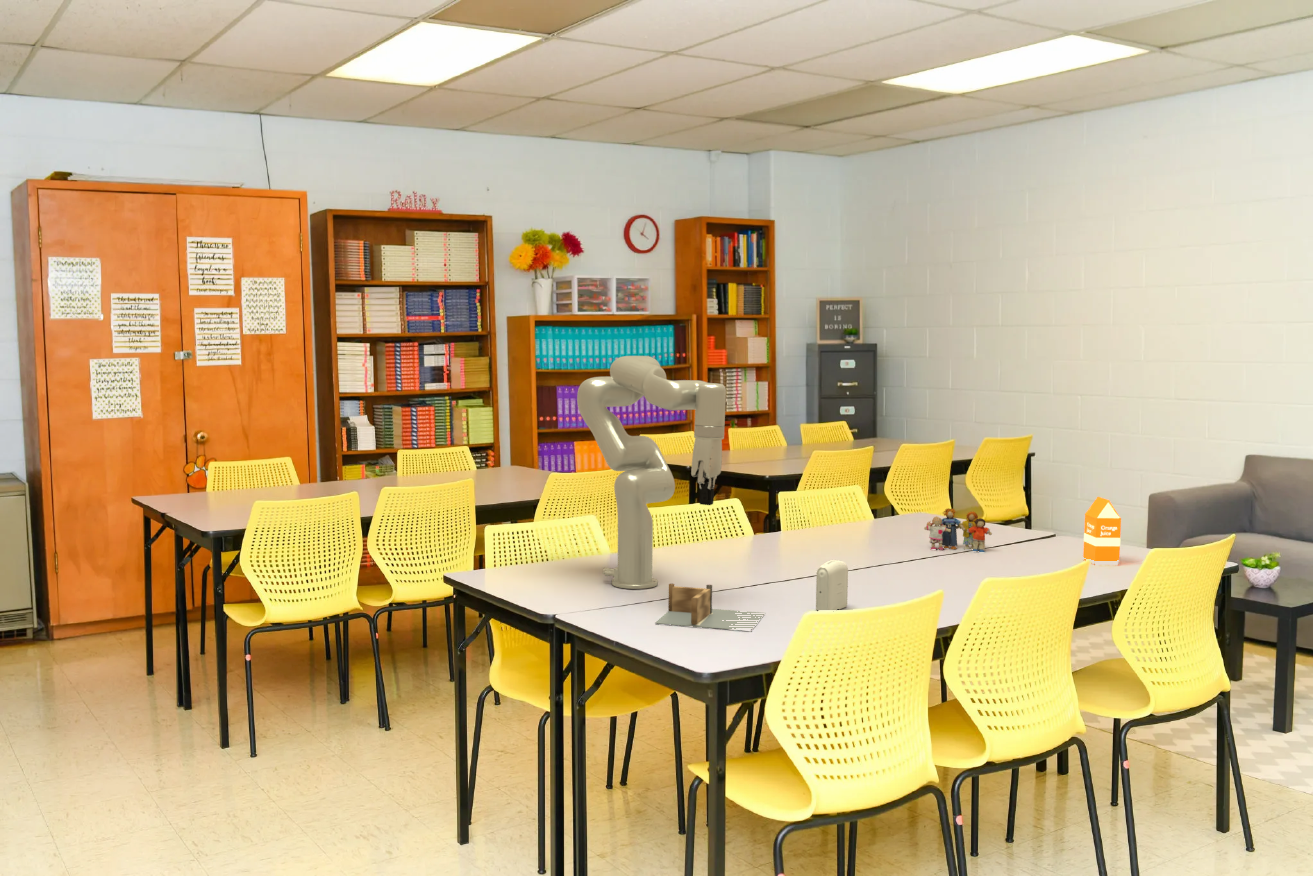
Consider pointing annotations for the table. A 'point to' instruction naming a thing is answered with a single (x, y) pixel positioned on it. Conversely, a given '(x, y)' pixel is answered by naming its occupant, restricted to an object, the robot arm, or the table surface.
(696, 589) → the fence fixed
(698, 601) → the fence gate
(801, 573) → the table surface
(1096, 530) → the orange juice
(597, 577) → the table surface
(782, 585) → the table surface
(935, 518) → the doll family
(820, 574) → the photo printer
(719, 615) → the card
